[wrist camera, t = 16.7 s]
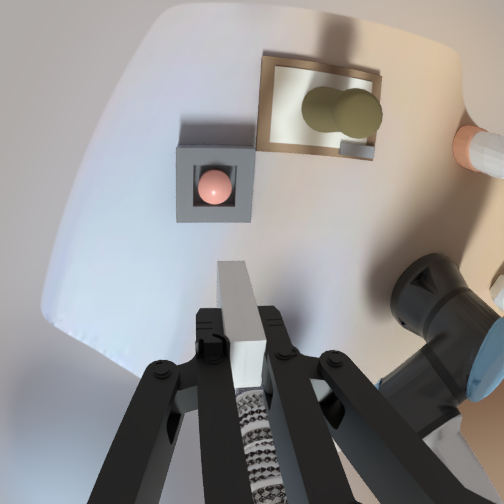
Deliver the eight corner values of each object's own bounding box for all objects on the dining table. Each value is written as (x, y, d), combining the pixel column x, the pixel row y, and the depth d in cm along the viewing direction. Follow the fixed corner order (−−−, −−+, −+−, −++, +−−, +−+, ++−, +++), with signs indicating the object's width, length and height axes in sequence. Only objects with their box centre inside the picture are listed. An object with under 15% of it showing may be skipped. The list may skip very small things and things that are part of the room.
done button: (230, 168, 38) (232, 172, 36) (229, 198, 40) (231, 204, 37) (198, 167, 37) (198, 172, 35) (198, 198, 39) (198, 204, 37)
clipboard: (379, 76, 36) (384, 76, 35) (370, 159, 41) (374, 161, 40) (261, 56, 34) (263, 55, 33) (255, 150, 39) (257, 151, 38)
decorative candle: (266, 381, 57) (297, 501, 35) (283, 405, 61) (313, 511, 39) (223, 398, 58) (239, 515, 36) (243, 419, 62) (262, 525, 40)
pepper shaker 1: (307, 80, 35) (344, 74, 25) (351, 94, 36) (397, 95, 26) (296, 126, 37) (329, 135, 28) (340, 138, 39) (383, 152, 29)
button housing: (251, 146, 39) (255, 149, 36) (247, 214, 42) (250, 222, 40) (178, 144, 37) (176, 148, 35) (178, 214, 41) (176, 222, 38)
